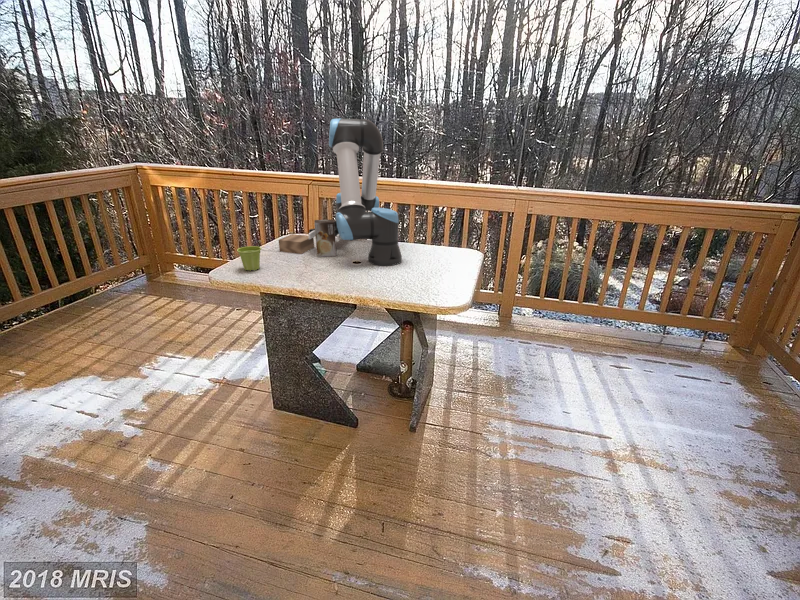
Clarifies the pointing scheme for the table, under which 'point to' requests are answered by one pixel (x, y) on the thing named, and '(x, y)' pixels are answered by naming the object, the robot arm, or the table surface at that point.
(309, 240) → the walnut block
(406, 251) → the table surface
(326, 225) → the coffee box
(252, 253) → the plant pot
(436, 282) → the table surface
